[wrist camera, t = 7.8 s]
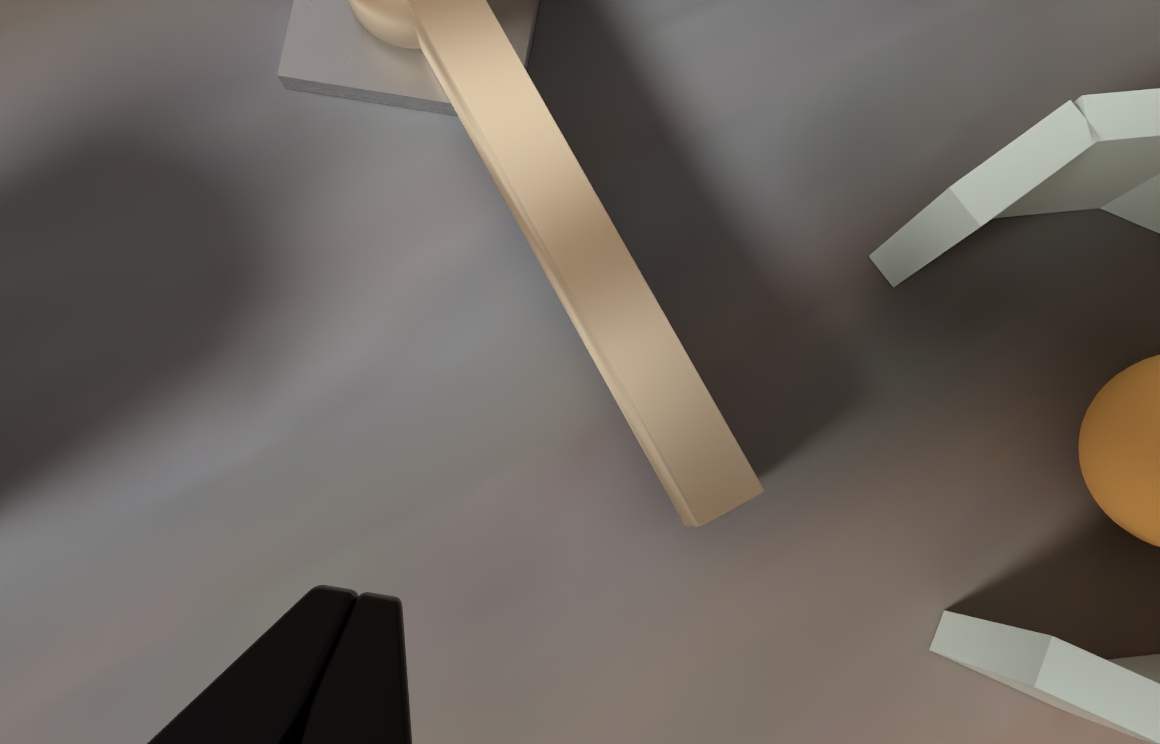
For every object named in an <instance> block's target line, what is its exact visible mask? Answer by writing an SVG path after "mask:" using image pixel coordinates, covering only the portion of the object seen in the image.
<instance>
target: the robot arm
mask: <svg viewBox="0 0 1160 744" xmlns="http://www.w3.org/2000/svg"><path fill="white" fill-rule="evenodd" d="M147 744H412V734H411V720H410V707H409V693H408V679H407V665H406V651H405V637H404V623H403V610H402V602H401V600H400V599H399V598H398V597H394V596H388V595H382V594H376V593H369V592H365V593H362V594H360V596H358V593H357V592H356V591H354V590H351V589H345V588H339V587H333V586H327V585H319V586H316V587H314V588H312V589H311V590H310V591H309V592H308V593H307V594H306V595H305V596H303V597H302V598H301V599H300V600H299V601H298V602H297V603H296V604H295V605H294V606H293V607H292V608H291V609H290V610H289V611H288V612H286V613H285V614H284V615H283V616H282V617H281V618H280V619H279V620H278V621H277V622H276V623H275V624H274V625H273V626H272V627H271V628H269V629H268V630H267V631H266V632H265V633H264V634H263V635H262V636H261V637H260V638H259V639H258V640H257V641H256V642H255V643H254V644H252V645H251V646H250V647H249V648H248V649H247V650H246V651H245V652H244V653H243V654H242V655H241V656H240V657H239V658H238V659H237V660H236V661H234V662H233V663H232V664H231V665H230V666H229V667H228V668H227V669H226V670H225V671H224V672H223V673H222V674H221V675H220V676H219V677H217V678H216V679H215V680H214V681H213V682H212V683H211V684H210V685H209V686H208V687H207V688H206V689H205V690H204V691H203V692H202V693H200V694H199V695H198V696H197V697H196V698H195V699H194V700H193V701H192V702H191V703H190V704H189V705H188V706H187V707H186V708H185V709H183V710H182V711H181V712H180V713H179V714H178V715H177V716H176V717H175V718H174V719H173V720H172V721H171V722H170V723H169V724H168V725H167V726H165V727H164V728H163V729H162V730H161V731H160V732H159V733H158V734H157V735H156V736H155V737H154V738H153V739H152V740H151V741H150V742H148V743H147Z"/></svg>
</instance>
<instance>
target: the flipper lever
mask: <svg viewBox="0 0 1160 744" xmlns="http://www.w3.org/2000/svg"><path fill="white" fill-rule="evenodd" d="M348 1H349V4H350V6H351V8H352V10H353V12H354V14H355V16H356V17H357V19H358V20H359V22H360V23H361V24H362V25H363V26H364V28H366V29H367V30H368V31H369V32H370V33H371V34H373V35H374V36H376V37H377V38H379V39H380V40H382V41H384V42H386V43H389V44H392V45H395V46H398V47H403V48H411V49H422V51H423V53H424V55H425V57H426V58H427V60H428V62H429V64H430V66H431V67H432V69H433V71H434V73H435V75H436V76H437V78H438V80H439V82H440V84H441V85H442V87H443V89H444V91H445V93H446V95H447V96H448V98H449V100H450V102H451V104H452V105H453V107H454V109H455V111H456V113H457V114H458V116H459V118H460V120H461V122H462V123H463V125H464V127H465V129H466V131H467V132H468V134H469V136H470V138H471V140H472V142H473V143H474V145H475V147H476V149H477V151H478V152H479V154H480V156H481V158H482V160H483V161H484V163H485V165H486V167H487V169H488V170H489V172H490V174H491V176H492V178H493V179H494V181H495V183H496V185H497V187H498V188H499V190H500V192H501V194H502V196H503V198H504V199H505V201H506V203H507V205H508V207H509V208H510V210H511V212H512V214H513V216H514V217H515V219H516V221H517V223H518V225H519V226H520V228H521V230H522V232H523V234H524V235H525V237H526V239H527V241H528V243H529V244H530V246H531V248H532V250H533V252H534V254H535V255H536V257H537V259H538V261H539V263H540V264H541V266H542V268H543V270H544V272H545V273H546V275H547V277H548V279H549V281H550V282H551V284H552V286H553V288H554V290H555V291H556V293H557V295H558V297H559V299H560V300H561V302H562V304H563V306H564V308H565V310H566V311H567V313H568V315H569V317H570V319H571V320H572V322H573V324H574V326H575V328H576V329H577V331H578V333H579V335H580V337H581V338H582V340H583V342H584V344H585V346H586V347H587V349H588V351H589V353H590V355H591V357H592V358H593V360H594V362H595V364H596V366H597V367H598V369H599V371H600V373H601V375H602V376H603V378H604V380H605V382H606V384H607V385H608V387H609V389H610V391H611V393H612V394H613V396H614V398H615V400H616V402H617V403H618V405H619V407H620V409H621V411H622V413H623V414H624V416H625V418H626V420H627V422H628V423H629V425H630V427H631V429H632V431H633V432H634V434H635V436H636V438H637V440H638V441H639V443H640V445H641V447H642V449H643V450H644V452H645V454H646V456H647V458H648V459H649V461H650V463H651V465H652V467H653V469H654V470H655V472H656V474H657V476H658V478H659V479H660V481H661V483H662V485H663V487H664V488H665V490H666V492H667V494H668V496H669V497H670V499H671V501H672V503H673V505H674V506H675V508H676V510H677V512H678V514H679V516H680V517H681V519H682V521H683V523H684V525H685V526H699V527H702V526H704V525H706V524H708V523H709V522H711V521H713V520H715V519H717V518H718V517H720V516H722V515H724V514H725V513H727V512H729V511H731V510H733V509H734V508H736V507H738V506H740V505H742V504H743V503H745V502H747V501H749V500H750V499H752V498H754V497H756V496H758V495H759V494H761V493H763V492H765V490H764V489H763V487H762V485H761V483H760V482H759V480H758V478H757V476H756V475H755V473H754V471H753V469H752V468H751V466H750V464H749V462H748V460H747V459H746V457H745V455H744V453H743V452H742V450H741V448H740V446H739V445H738V443H737V441H736V439H735V438H734V436H733V434H732V432H731V431H730V429H729V427H728V425H727V424H726V422H725V420H724V418H723V416H722V415H721V413H720V411H719V409H718V408H717V406H716V404H715V402H714V401H713V399H712V397H711V395H710V394H709V392H708V390H707V388H706V387H705V385H704V383H703V381H702V380H701V378H700V376H699V374H698V372H697V371H696V369H695V367H694V365H693V364H692V362H691V360H690V358H689V357H688V355H687V353H686V351H685V350H684V348H683V346H682V344H681V343H680V341H679V339H678V337H677V336H676V334H675V332H674V330H673V328H672V327H671V325H670V323H669V321H668V320H667V318H666V316H665V314H664V313H663V311H662V309H661V307H660V306H659V304H658V302H657V300H656V299H655V297H654V295H653V293H652V292H651V290H650V288H649V286H648V285H647V283H646V281H645V279H644V277H643V276H642V274H641V272H640V270H639V269H638V267H637V265H636V263H635V262H634V260H633V258H632V256H631V255H630V253H629V251H628V249H627V248H626V246H625V244H624V242H623V241H622V239H621V237H620V235H619V233H618V232H617V230H616V228H615V226H614V225H613V223H612V221H611V219H610V218H609V216H608V214H607V212H606V211H605V209H604V207H603V205H602V204H601V202H600V200H599V198H598V197H597V195H596V193H595V191H594V189H593V188H592V186H591V184H590V182H589V181H588V179H587V177H586V175H585V174H584V172H583V170H582V168H581V167H580V165H579V163H578V161H577V160H576V158H575V156H574V154H573V153H572V151H571V149H570V147H569V145H568V144H567V142H566V140H565V138H564V137H563V135H562V133H561V131H560V130H559V128H558V126H557V124H556V123H555V121H554V119H553V117H552V116H551V114H550V112H549V110H548V109H547V107H546V105H545V103H544V101H543V100H542V98H541V96H540V94H539V93H538V91H537V89H536V87H535V86H534V84H533V82H532V80H531V79H530V77H529V75H528V73H527V72H526V70H525V68H524V66H523V65H522V63H521V61H520V59H519V57H518V56H517V54H516V52H515V50H514V49H513V47H512V45H511V43H510V42H509V40H508V38H507V36H506V35H505V33H504V31H503V29H502V28H501V26H500V24H499V22H498V21H497V19H496V17H495V15H494V13H493V12H492V10H491V8H490V6H489V5H488V3H487V0H348Z"/></svg>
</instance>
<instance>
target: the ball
mask: <svg viewBox="0 0 1160 744" xmlns="http://www.w3.org/2000/svg"><path fill="white" fill-rule="evenodd" d="M1079 461H1080V467H1081V471H1082V474H1083V477H1084V480H1085V482H1086V485H1087V487H1088V489H1089V491H1090V492H1091V494H1092V496H1093V498H1094V499H1095V501H1096V502H1097V503H1098V505H1099V506H1100V507H1101V508H1102V510H1103V511H1104V512H1105V513H1106V514H1107V515H1108V516H1109V517H1110V518H1111V519H1112V520H1113V521H1114V522H1115V523H1116V524H1118V525H1119V526H1121V527H1122V528H1123V529H1125V530H1126V531H1127V532H1129V533H1130V534H1132V535H1134V536H1136V537H1137V538H1139V539H1141V540H1143V541H1145V542H1147V543H1150V544H1152V545H1155V546H1157V547H1160V355H1156V356H1153V357H1150V358H1147V359H1144V360H1142V361H1140V362H1138V363H1135V364H1133V365H1131V366H1130V367H1128V368H1126V369H1125V370H1123V371H1122V372H1120V373H1118V374H1117V375H1116V376H1115V377H1113V378H1112V379H1111V380H1110V381H1109V382H1108V383H1107V384H1106V385H1105V386H1104V387H1103V388H1102V389H1101V390H1100V391H1099V392H1098V393H1097V395H1096V396H1095V398H1094V399H1093V401H1092V402H1091V404H1090V406H1089V407H1088V409H1087V411H1086V414H1085V416H1084V419H1083V422H1082V425H1081V429H1080V434H1079Z"/></svg>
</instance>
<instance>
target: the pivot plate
mask: <svg viewBox="0 0 1160 744" xmlns="http://www.w3.org/2000/svg"><path fill="white" fill-rule="evenodd" d="M487 3H488V5H489V6H490V8H491V10H492V12H493V13H494V15H495V17H496V19H497V21H498V22H499V24H500V26H501V28H502V29H503V31H504V33H505V35H506V36H507V38H508V40H509V42H510V43H511V45H512V47H513V49H514V50H515V52H516V54H517V56H518V57H519V59H520V61H521V63H522V65H523V66H524V68H525V70H526V72H527V66H528V61H529V55H530V50H531V44H532V39H533V33H534V28H535V22H536V16H537V11H538V5H539V0H487ZM277 76H278V77H279V79H280V81H281V82H282V84H283V85H284V87H285V88H288V89H294V90H300V91H307V92H313V93H319V94H325V95H332V96H338V97H344V98H350V99H357V100H363V101H369V102H375V103H381V104H388V105H394V106H400V107H406V108H413V109H419V110H425V111H431V112H438V113H444V114H450V115H456V116H458V114H457V113H456V111H455V109H454V107H453V105H452V104H451V102H450V100H449V98H448V96H447V95H446V93H445V91H444V89H443V87H442V85H441V84H440V82H439V80H438V78H437V76H436V75H435V73H434V71H433V69H432V67H431V66H430V64H429V62H428V60H427V58H426V57H425V55H424V53H423V51H422V49H411V48H403V47H398V46H395V45H392V44H389V43H386V42H384V41H382V40H380V39H379V38H377V37H376V36H374V35H373V34H371V33H370V32H369V31H368V30H367V29H366V28H364V26H363V25H362V24H361V23H360V22H359V20H358V19H357V17H356V16H355V14H354V12H353V10H352V8H351V6H350V4H349V1H348V0H294V2H293V7H292V11H291V16H290V20H289V25H288V29H287V34H286V38H285V43H284V47H283V52H282V56H281V61H280V65H279V69H278V74H277Z"/></svg>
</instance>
